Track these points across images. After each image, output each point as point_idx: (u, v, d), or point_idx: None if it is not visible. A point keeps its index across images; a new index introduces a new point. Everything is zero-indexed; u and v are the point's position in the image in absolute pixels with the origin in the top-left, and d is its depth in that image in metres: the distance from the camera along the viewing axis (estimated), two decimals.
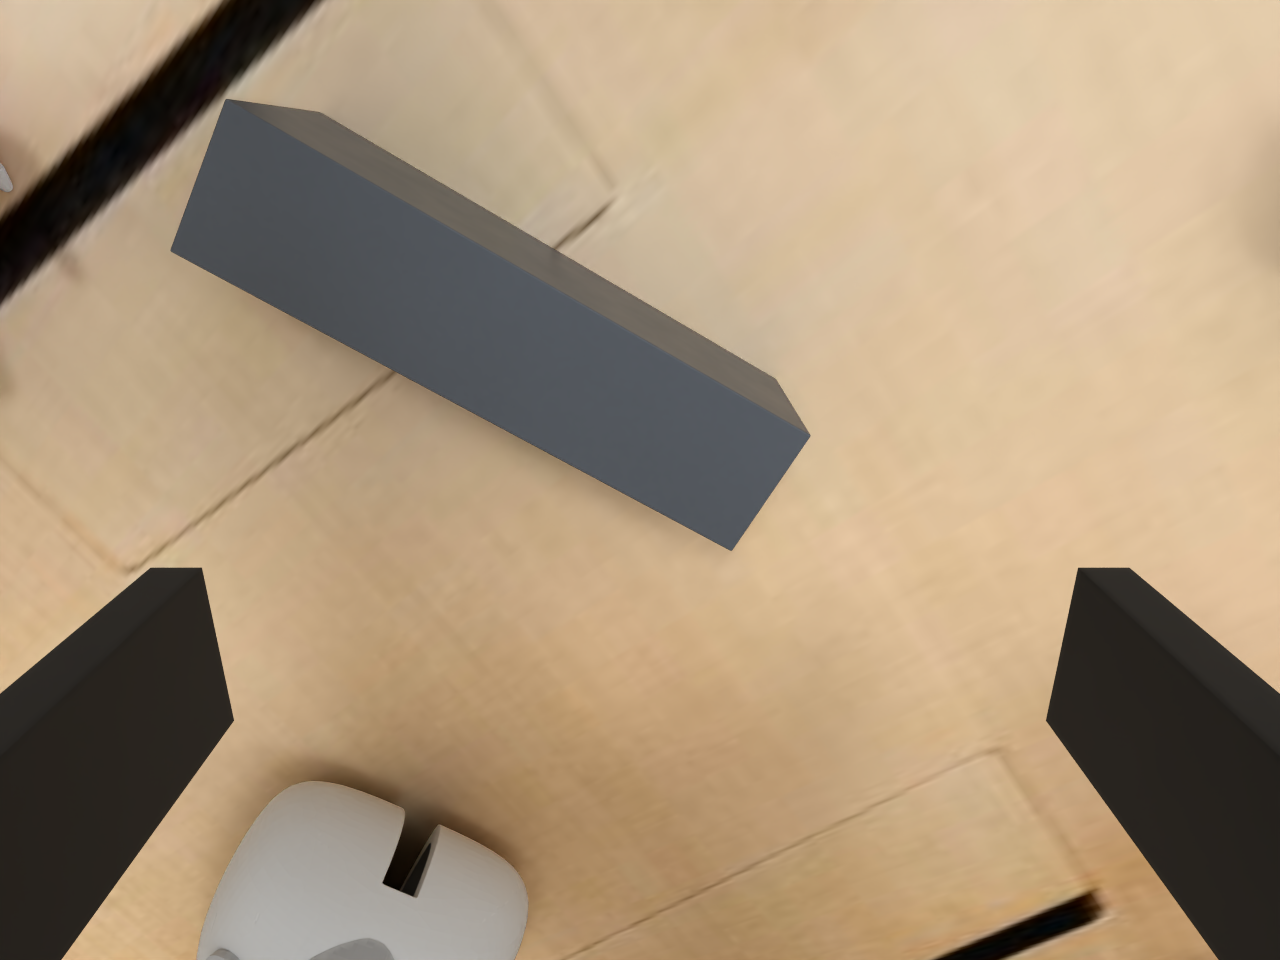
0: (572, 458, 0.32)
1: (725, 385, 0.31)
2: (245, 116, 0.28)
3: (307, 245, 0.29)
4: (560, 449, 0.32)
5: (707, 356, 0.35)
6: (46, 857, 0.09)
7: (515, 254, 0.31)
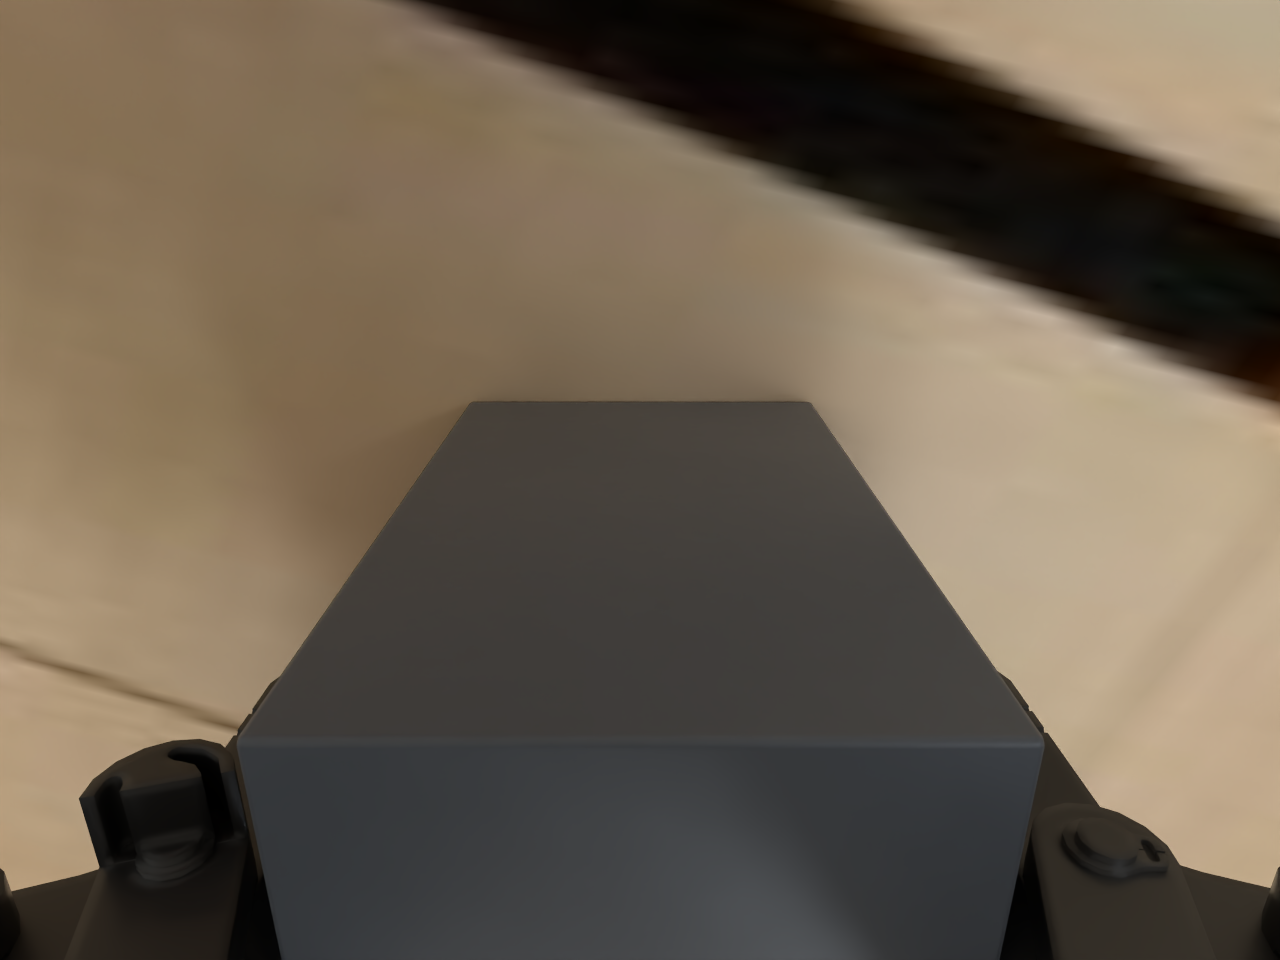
0: None
1: None
2: (1005, 830, 0.06)
3: None
4: None
5: None
6: None
7: None
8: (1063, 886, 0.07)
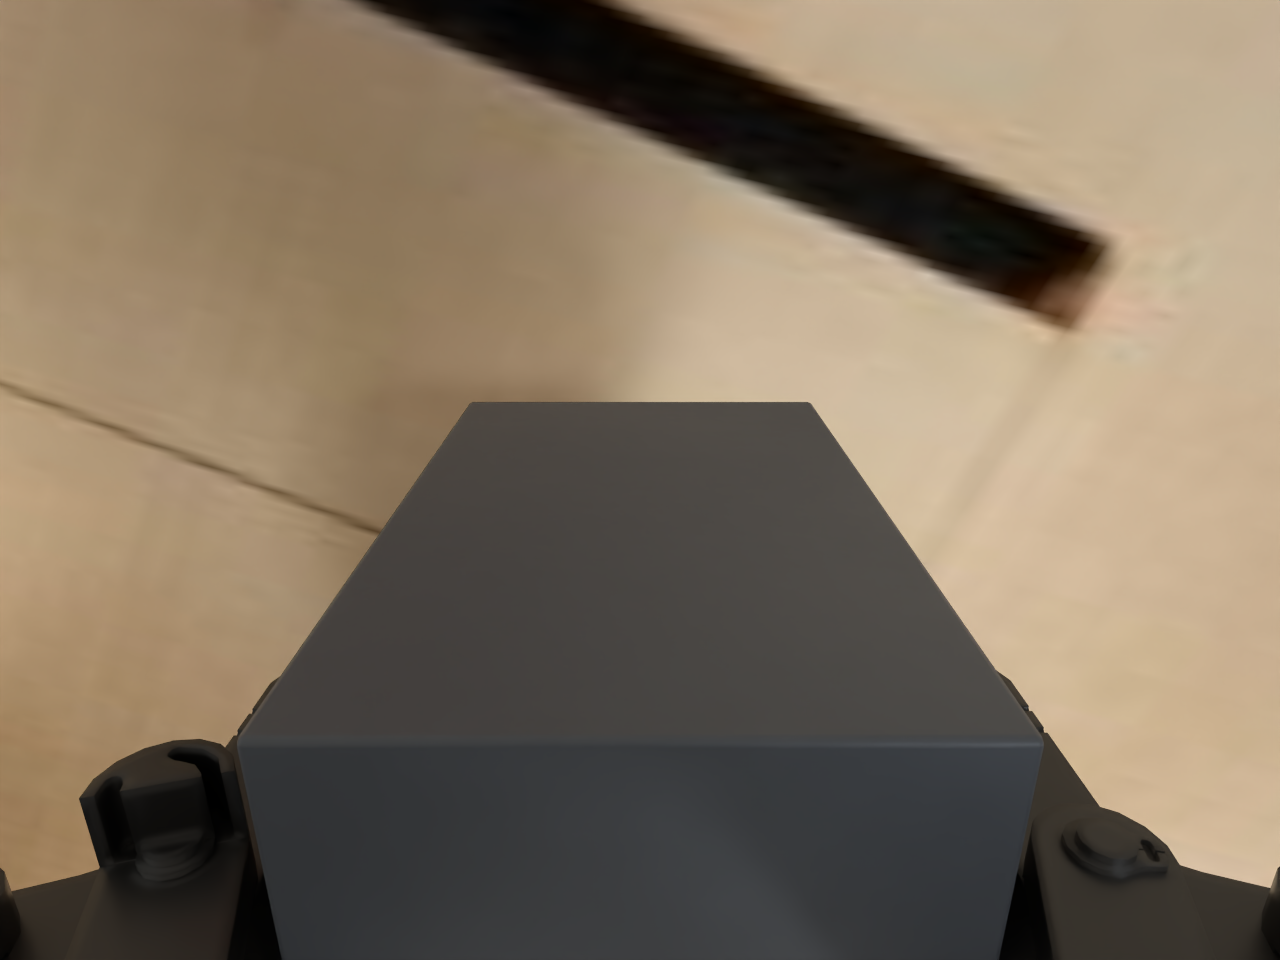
0: None
1: None
2: (1004, 829, 0.06)
3: None
4: None
5: None
6: None
7: None
8: (1064, 886, 0.07)
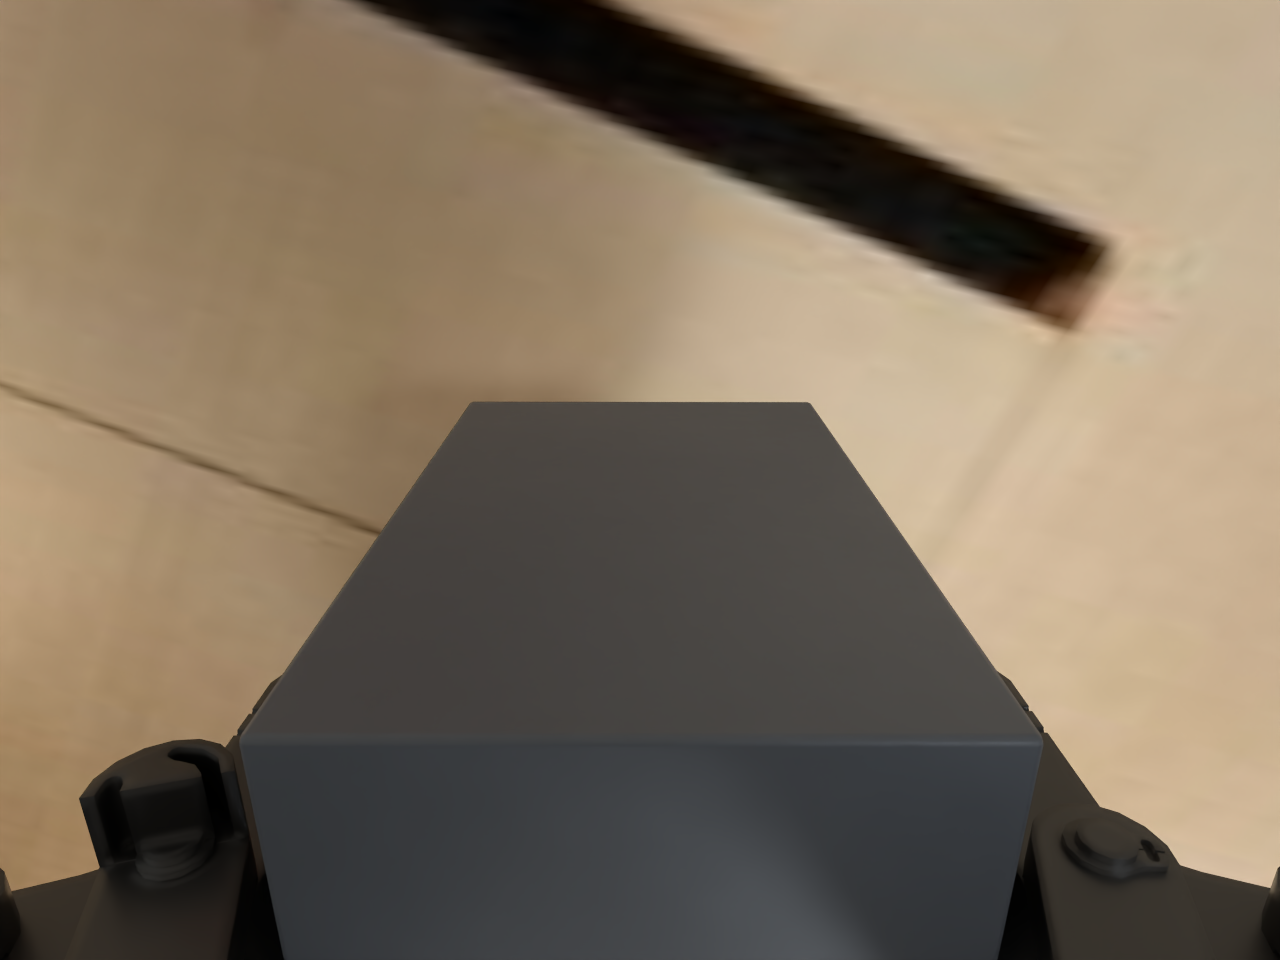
0: None
1: None
2: (1004, 828, 0.06)
3: None
4: None
5: None
6: None
7: None
8: (1064, 886, 0.07)
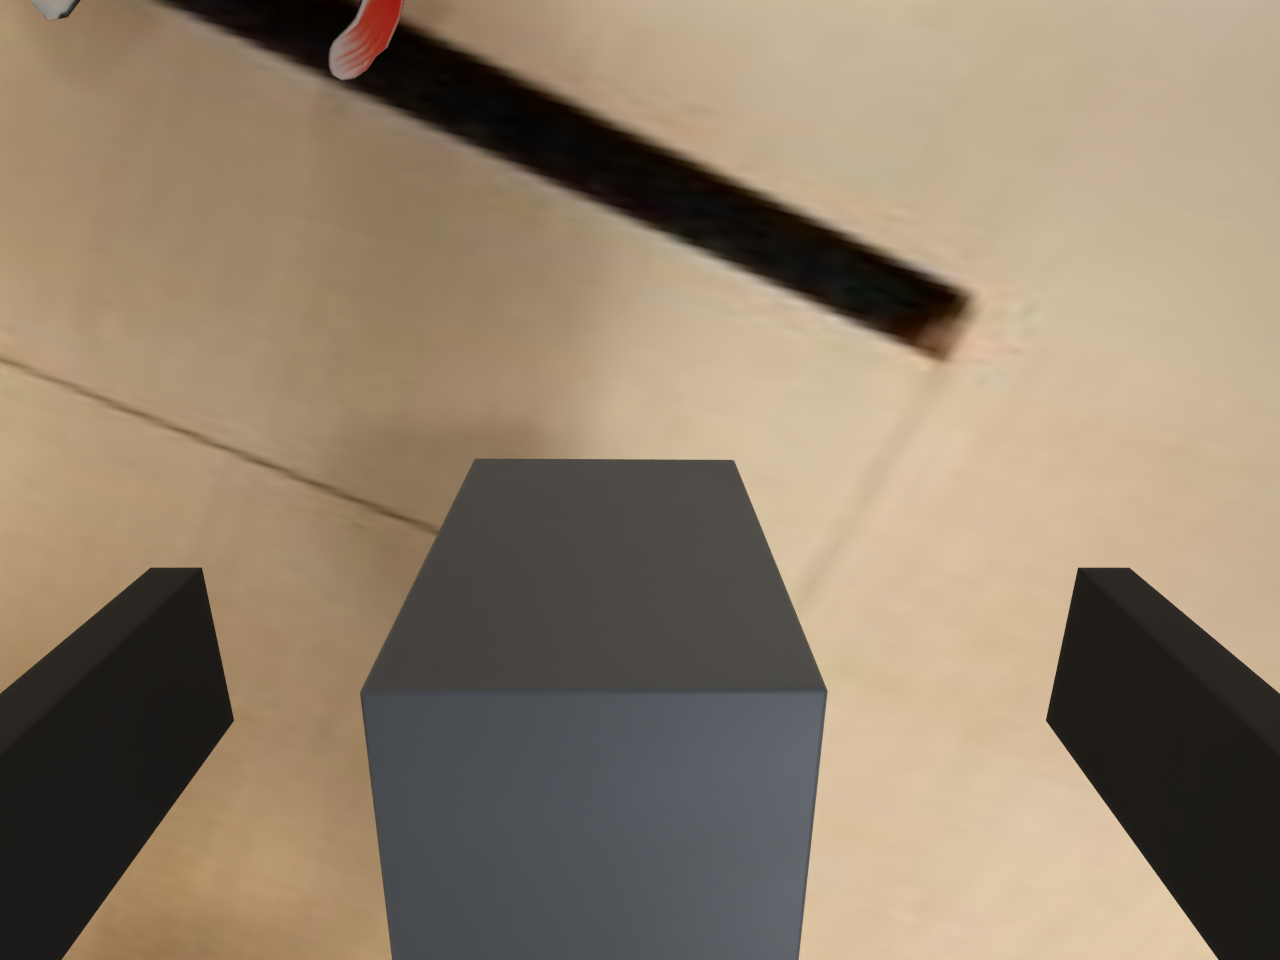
0: None
1: None
2: (808, 742, 0.10)
3: (580, 945, 0.12)
4: None
5: None
6: (47, 857, 0.09)
7: None
8: None
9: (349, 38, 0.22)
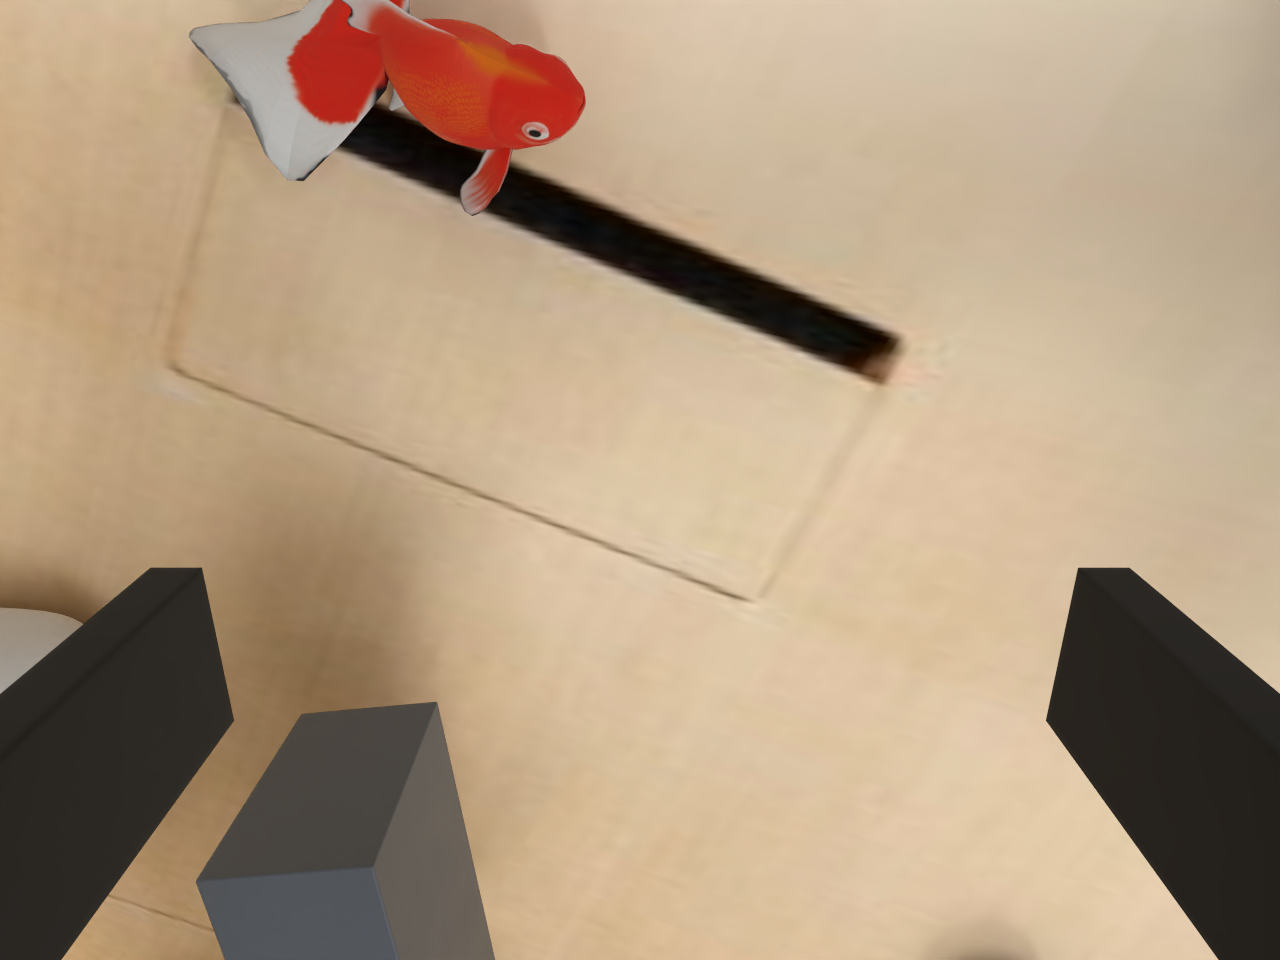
0: None
1: None
2: (372, 886, 0.26)
3: None
4: None
5: None
6: (46, 858, 0.09)
7: None
8: None
9: (472, 182, 0.34)
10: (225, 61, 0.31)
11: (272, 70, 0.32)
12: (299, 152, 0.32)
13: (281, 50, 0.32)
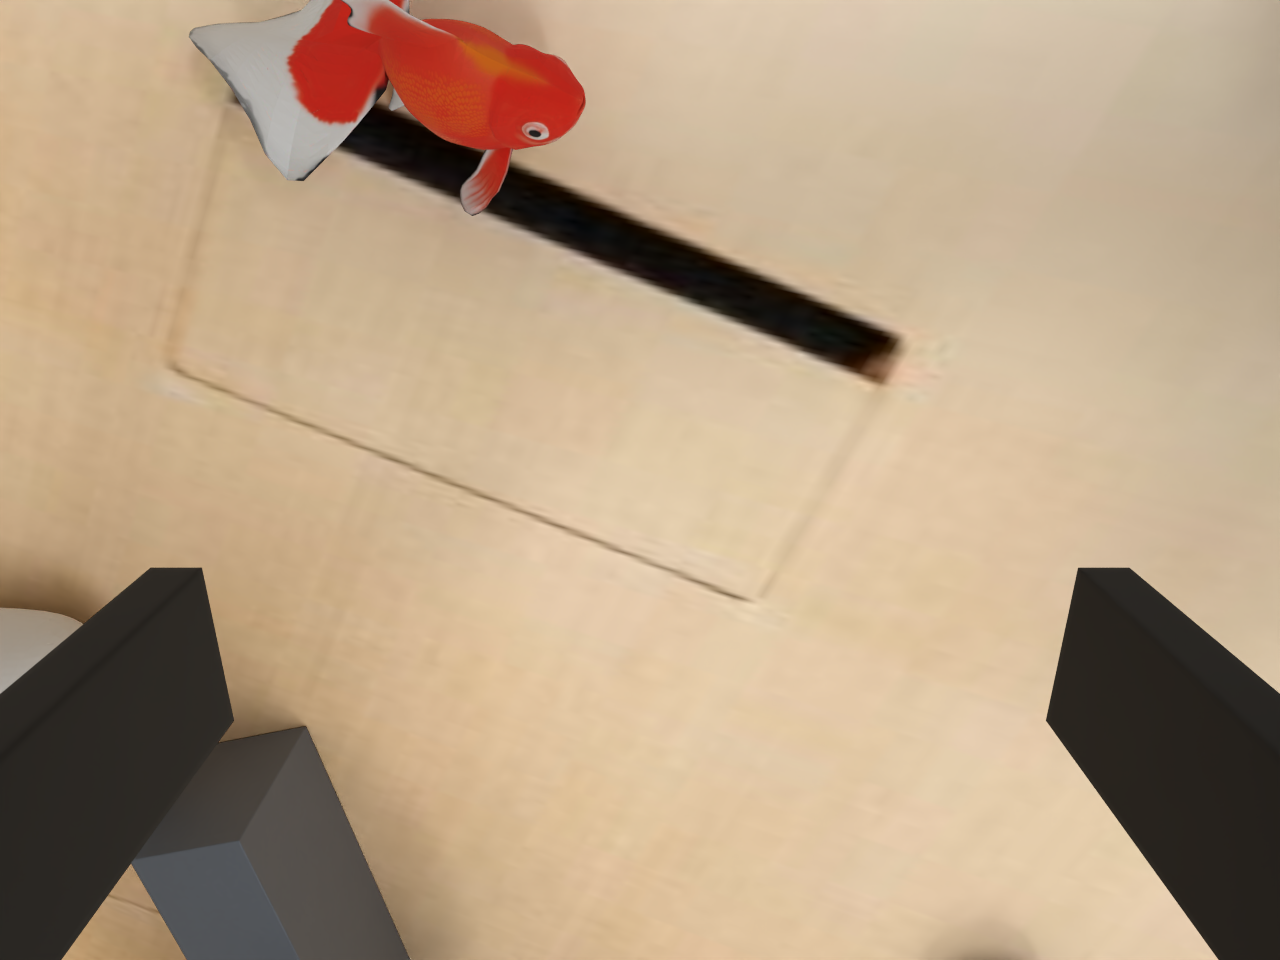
0: None
1: None
2: (241, 853, 0.40)
3: (213, 914, 0.42)
4: None
5: None
6: (46, 858, 0.09)
7: (329, 957, 0.46)
8: None
9: (472, 182, 0.34)
10: (225, 61, 0.31)
11: (272, 70, 0.32)
12: (299, 152, 0.32)
13: (281, 50, 0.32)
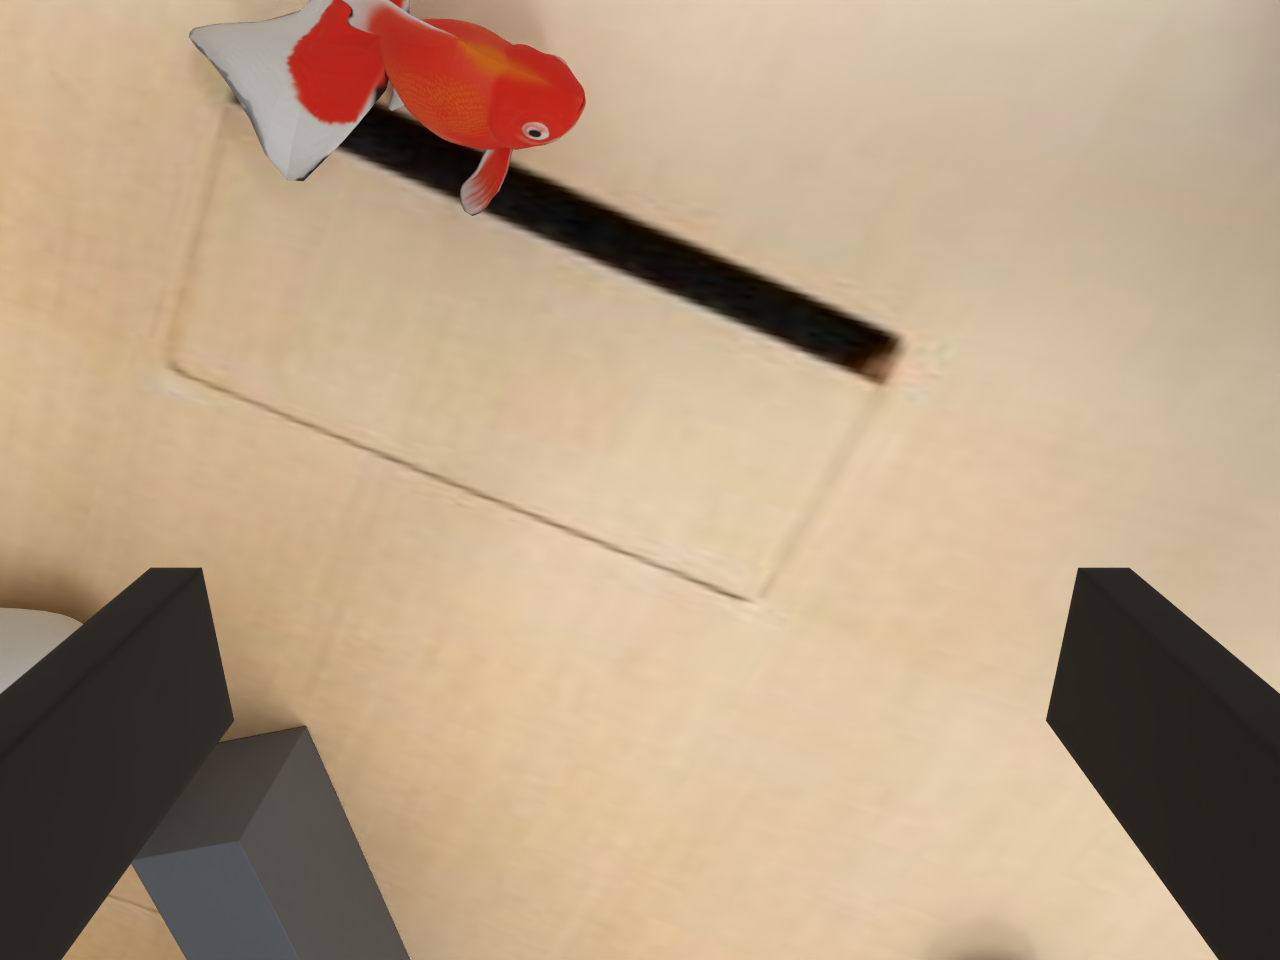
0: None
1: None
2: (241, 853, 0.40)
3: (213, 914, 0.42)
4: None
5: None
6: (46, 858, 0.09)
7: (329, 957, 0.46)
8: None
9: (472, 182, 0.34)
10: (225, 61, 0.31)
11: (272, 70, 0.32)
12: (299, 152, 0.32)
13: (281, 50, 0.32)
